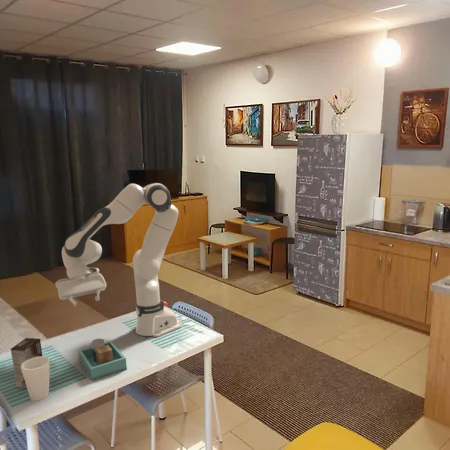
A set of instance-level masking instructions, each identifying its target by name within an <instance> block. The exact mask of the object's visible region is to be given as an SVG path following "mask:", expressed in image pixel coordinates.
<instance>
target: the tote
mask: <svg viewBox="0 0 450 450" xmlns="http://www.w3.org/2000/svg"><path fill="white" fill-rule="evenodd" d="M104 343H105V346H106V345H109V347H110V348H111V349H112V353H113V361H111V362H108V363H104V364H101V365H97V362H95V361H94V359H93V350H92V346H90V347H85V348H83V349H82V348H81V349H79V350H78V351H77V352H78V360H79V363H80V364H81V367H82V368H83V370H84V371H85V372H86V374H87V375H88V377H89V379H90V380H91V381H96V380H100V379H102V378H106V377H108V376H112V375H114V374H117V373H120V372H124V371H127V369H128V367H127V358H126V357H125V355H124V354H123V353H122V352H121V351H120V350H119V348H117V346H116V345H115V344H114V343H113V341H111V340H110V341H107V342H104Z"/></svg>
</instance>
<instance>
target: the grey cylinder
mask: <svg viewBox="0 0 450 450" xmlns="http://www.w3.org/2000/svg"><path fill="white" fill-rule="evenodd" d="M105 343H106V342H105V339H104V338H96V339H94V340H92V341H91V347H92V350H93V359H94V361H95V362H97V355H96V348H99V347H103V346H105Z"/></svg>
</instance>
